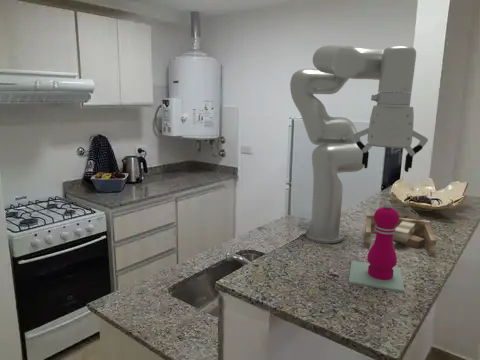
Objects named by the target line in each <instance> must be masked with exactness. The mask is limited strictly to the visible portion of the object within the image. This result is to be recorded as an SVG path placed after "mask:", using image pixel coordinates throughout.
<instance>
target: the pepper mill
mask: <svg viewBox="0 0 480 360" xmlns="http://www.w3.org/2000/svg"><path fill="white" fill-rule="evenodd" d="M391 203H392V202H390V201H385V202H384V204H383V206H382V207H379V208H377V209H376V211H375V212H374V214H373V215H374V220H375V222H376V225H375V231H376V233H375V234H376V235H375V238H374V239H375V240H374V242H373V244H372V245H371V246H370V248H369V250H368V253H367V259H366V260H367V263H370V265H369V266H368V274H369V275H370V276H372V277H374V278H376V279H381V280H389V279H391V278H392V277H393V272H394V270H393V269H392V268H393V267H396V265H397V263H398V258H397V253H396V250H395V247H394V241H393V234H394V233H395V229H396V227H395V225H396V224H397V223H398V222H399V215H398V213H397V211H396V210H394V209H393V208H391Z"/></svg>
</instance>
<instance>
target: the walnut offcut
mask: <svg viewBox="0 0 480 360" xmlns="http://www.w3.org/2000/svg"><path fill="white" fill-rule="evenodd" d="M393 242H396V243H399V244H401V245H405V246H407V247H410V248H414V249H416V250H419V249H421V248H424V247H425V239H424V238H421V237H417V236H414V235H412V236H411V237H410V238H409V239H408V241H407V242H402V241H398V240H393Z"/></svg>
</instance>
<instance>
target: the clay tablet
mask: <svg viewBox="0 0 480 360" xmlns="http://www.w3.org/2000/svg"><path fill="white" fill-rule="evenodd" d="M390 203H391V208H393V209H394V210H396V211H397V213H398V215H399V218H407V219H416V220H421V217H420V216H419V213H417V212H416V211H415V210H414V209H413V208H412V207H411V206H410V205H409V204H408V203H405V202H390Z"/></svg>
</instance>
